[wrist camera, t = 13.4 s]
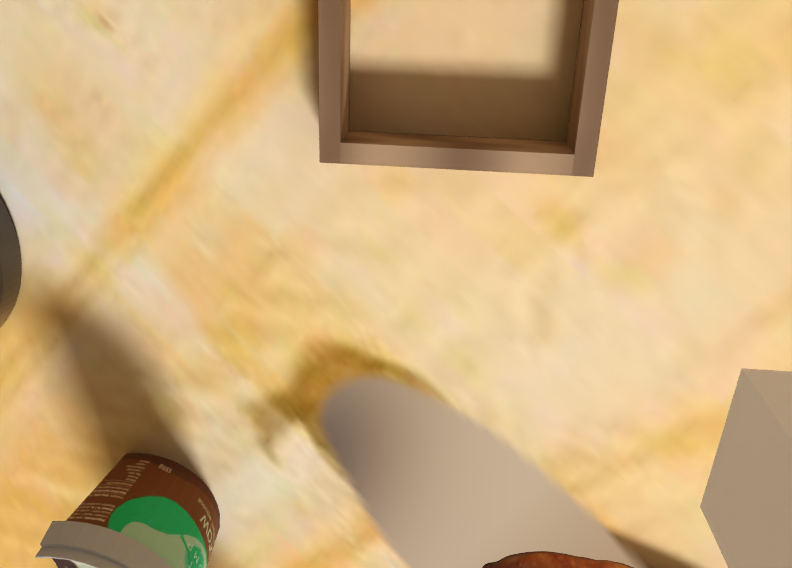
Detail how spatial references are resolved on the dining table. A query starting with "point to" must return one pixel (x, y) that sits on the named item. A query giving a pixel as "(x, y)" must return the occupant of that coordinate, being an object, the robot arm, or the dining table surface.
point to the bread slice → (551, 561)
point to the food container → (138, 520)
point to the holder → (459, 150)
